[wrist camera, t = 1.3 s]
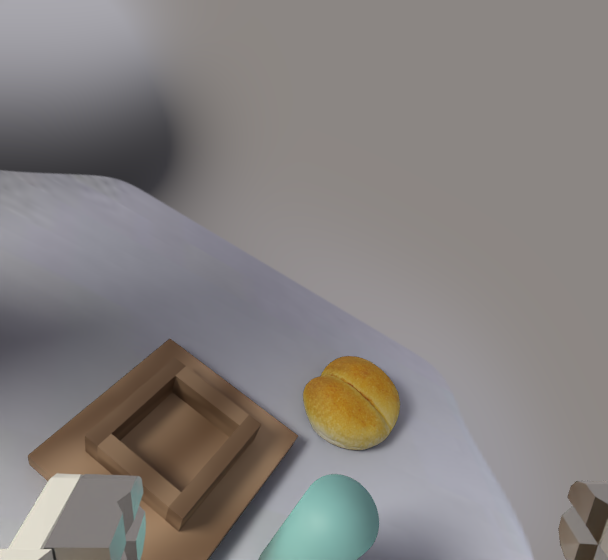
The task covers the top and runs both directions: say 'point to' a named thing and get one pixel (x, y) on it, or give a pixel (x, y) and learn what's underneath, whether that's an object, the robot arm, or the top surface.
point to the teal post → (327, 523)
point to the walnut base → (174, 450)
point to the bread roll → (352, 403)
